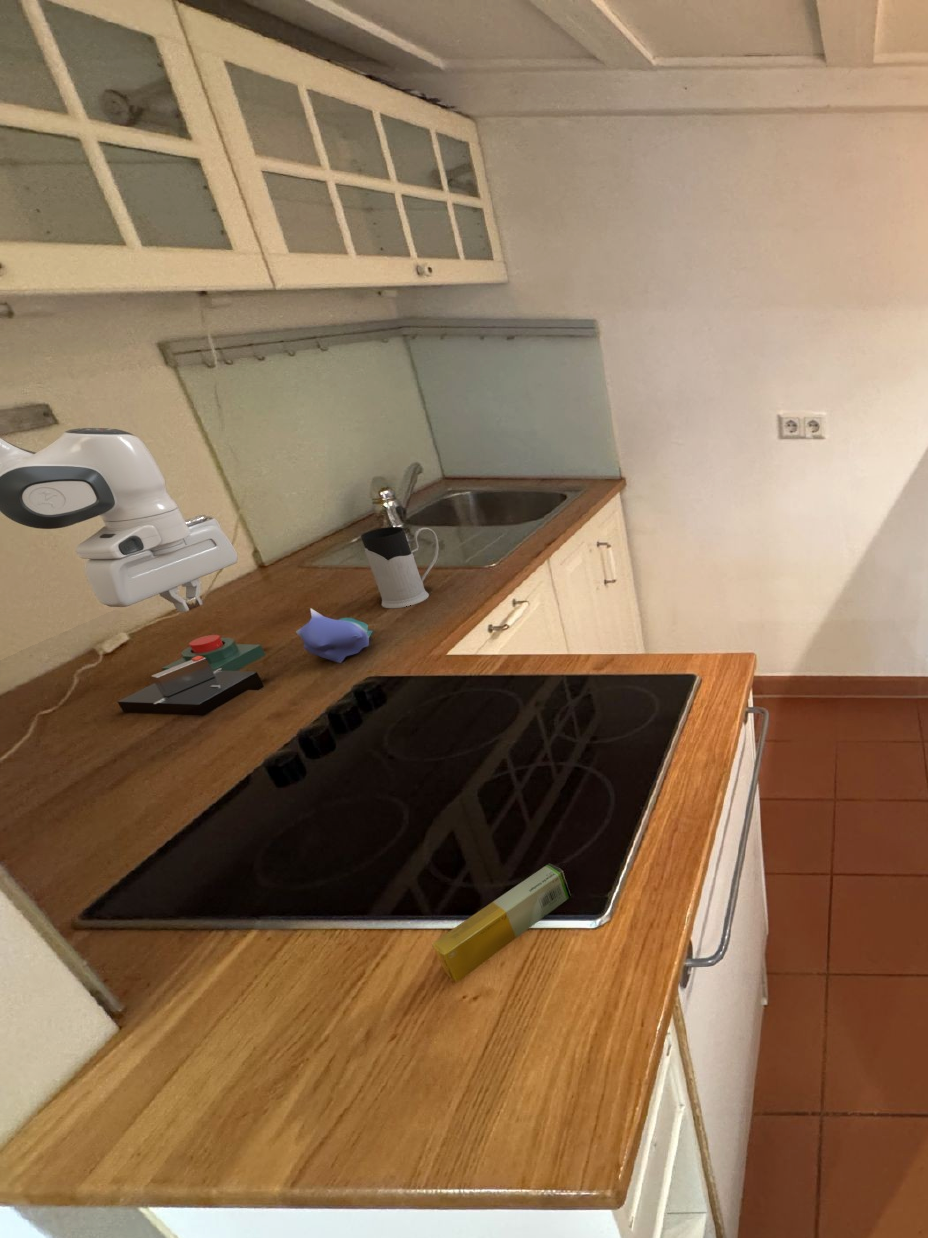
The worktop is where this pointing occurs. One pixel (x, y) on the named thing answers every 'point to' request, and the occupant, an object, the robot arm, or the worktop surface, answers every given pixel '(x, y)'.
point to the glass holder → (396, 566)
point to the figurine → (334, 637)
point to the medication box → (501, 922)
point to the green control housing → (224, 656)
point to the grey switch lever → (183, 676)
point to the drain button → (206, 643)
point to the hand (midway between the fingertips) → (190, 608)
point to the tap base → (193, 695)
